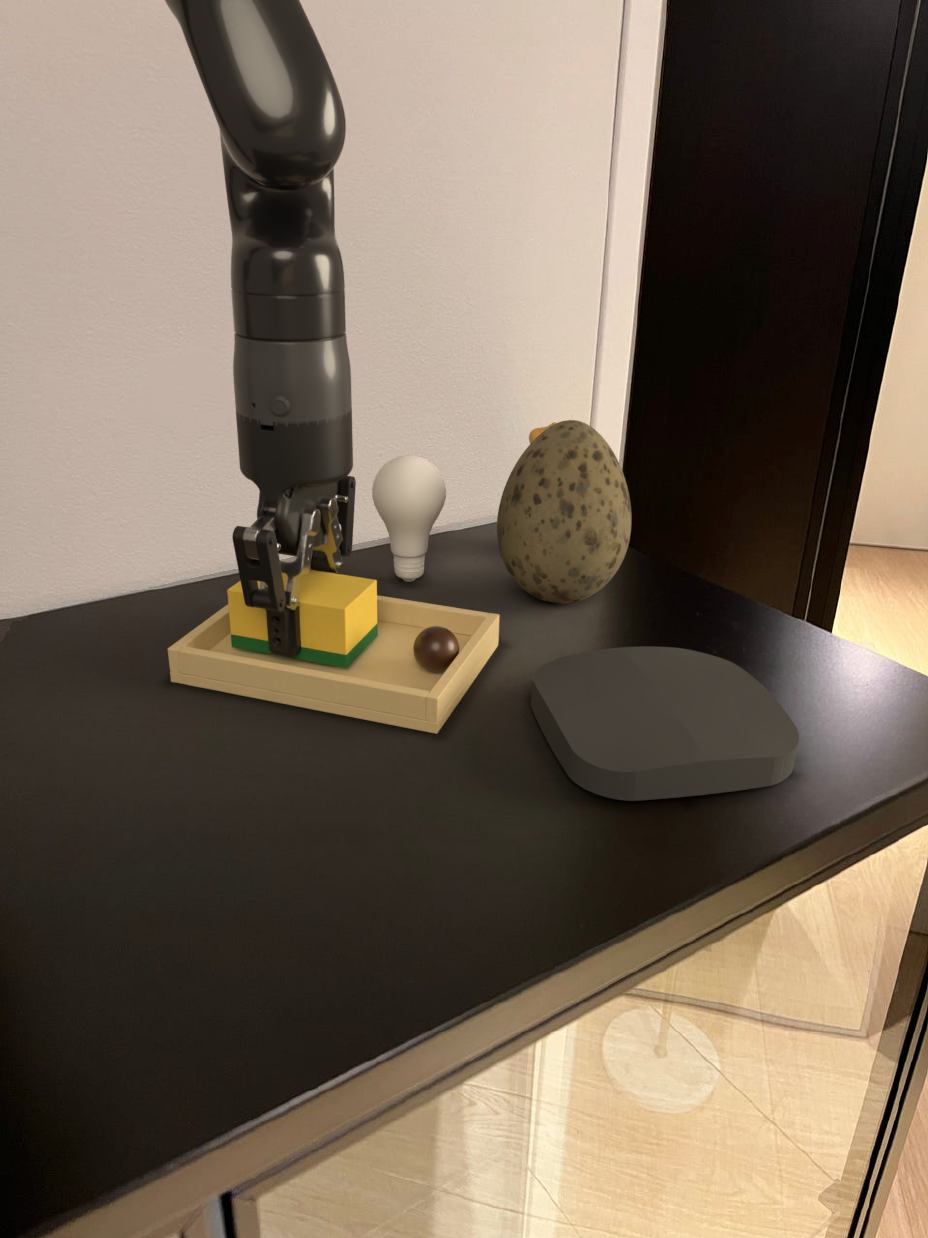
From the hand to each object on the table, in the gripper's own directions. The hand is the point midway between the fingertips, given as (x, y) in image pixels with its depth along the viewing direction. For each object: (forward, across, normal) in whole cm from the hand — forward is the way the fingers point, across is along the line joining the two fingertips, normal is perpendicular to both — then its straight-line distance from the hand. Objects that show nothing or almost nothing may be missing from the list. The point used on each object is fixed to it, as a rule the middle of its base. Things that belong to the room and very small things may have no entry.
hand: (304, 635), depth 73 cm
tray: (+2, 0, +3) cm, 3 cm away
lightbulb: (+2, -16, +2) cm, 16 cm away
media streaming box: (+2, +2, +26) cm, 26 cm away
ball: (-1, 0, +10) cm, 10 cm away
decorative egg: (+2, -17, +15) cm, 23 cm away
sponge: (0, 0, 0) cm, 0 cm away
